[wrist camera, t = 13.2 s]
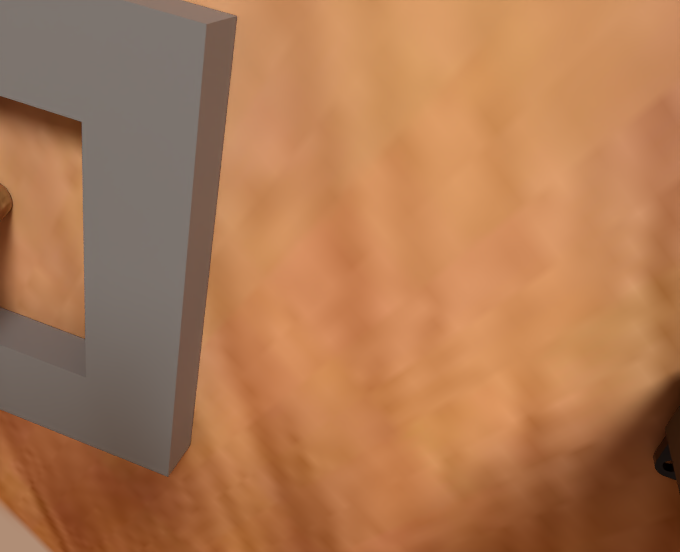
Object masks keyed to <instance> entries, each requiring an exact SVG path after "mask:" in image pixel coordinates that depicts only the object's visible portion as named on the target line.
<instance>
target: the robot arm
mask: <svg viewBox="0 0 680 552" xmlns="http://www.w3.org/2000/svg"><path fill="white" fill-rule="evenodd" d="M665 433H666V437H665V438H664V440H663V441H662V442H661V444H660V445H659V447H658V448H657V450H656V451H655V453H654V455H653V459H654V464H655V469H656V470H657V471H658V473H660V474H661V475H663V476H666V477H669V478H671V479H674V480H677V484H678V489H679V493H680V406H679V408H678V409H677V411H676V412H675V414H674V415H673V417H672V418H671V420H670V421H669V422H668V424H667V425H666V427H665ZM670 460H671V461H672V463H670V464H669V463H665V462H666V461H670Z"/></svg>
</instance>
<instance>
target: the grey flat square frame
mask: <svg viewBox="0 0 680 552" xmlns="http://www.w3.org/2000/svg"><path fill="white" fill-rule="evenodd" d="M236 21H237V16H235V15H232V14H228V13H225V12H221V11H218V10H214V9H210V8H207V7H203V6H200V5H196V4H193V3H189V2H186V1H182V0H0V96H2V97H5V98H9V99H12V100H15V101H18V102H21V103H24V104H27V105H30V106H34V107H37V108H40V109H43V110H46V111H49V112H52V113H55V114H59V115H62V116H65V117H68V118H71V119H74V120H77V121H80V122H82V171H83V229H84V287H85V339H83V338H80V337H78V336H75V335H72V334H70V333H67V332H64V331H62V330H59V329H56V328H54V327H51V326H48V325H46V324H43V323H41V322H38V321H35V320H33V319H30V318H27V317H25V316H22V315H19V314H17V313H14V312H11V311H9V310H6V309H3V308H1V307H0V409H1V410H3V411H6V412H8V413H10V414H13V415H15V416H18V417H20V418H23V419H25V420H28V421H30V422H33V423H35V424H38V425H40V426H43V427H45V428H48V429H50V430H53V431H55V432H58V433H60V434H63V435H65V436H68V437H70V438H73V439H75V440H78V441H80V442H83V443H85V444H88V445H90V446H92V447H95V448H97V449H100V450H102V451H105V452H107V453H110V454H112V455H115V456H117V457H120V458H122V459H125V460H127V461H130V462H132V463H135V464H137V465H140V466H142V467H145V468H147V469H150V470H152V471H155V472H157V473H160V474H162V475H165V476H167V477H168V476H169V475H170V473H171V472H172V470H173V469H174V468H175V466H176V465H177V463H178V462H179V460H180V459H181V458H182V456H183V455H184V453H185V452H186V450H187V449H188V448H189V446H190V442H191V433H192V424H193V415H194V406H195V397H196V387H197V378H198V369H199V360H200V351H201V342H202V332H203V323H204V314H205V305H206V296H207V287H208V277H209V268H210V259H211V250H212V241H213V232H214V223H215V213H216V204H217V195H218V186H219V177H220V168H221V158H222V149H223V140H224V131H225V122H226V113H227V103H228V94H229V85H230V76H231V67H232V58H233V49H234V39H235V30H236Z"/></svg>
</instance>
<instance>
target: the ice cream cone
mask: <svg viewBox="0 0 680 552" xmlns="http://www.w3.org/2000/svg"><path fill="white" fill-rule="evenodd" d="M11 208H12V200H11V197H10V194H9V192H8V191H7V189H6V188H5V187H4V186H3V185H1V184H0V221H1V220H2V219H3V218H4V217H5V216H6V215H7V213H8V212H9V211H10V210H11Z"/></svg>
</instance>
